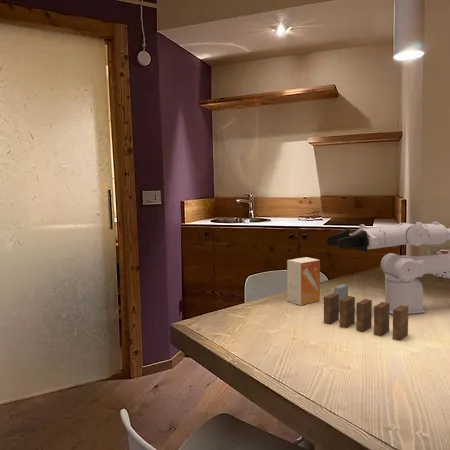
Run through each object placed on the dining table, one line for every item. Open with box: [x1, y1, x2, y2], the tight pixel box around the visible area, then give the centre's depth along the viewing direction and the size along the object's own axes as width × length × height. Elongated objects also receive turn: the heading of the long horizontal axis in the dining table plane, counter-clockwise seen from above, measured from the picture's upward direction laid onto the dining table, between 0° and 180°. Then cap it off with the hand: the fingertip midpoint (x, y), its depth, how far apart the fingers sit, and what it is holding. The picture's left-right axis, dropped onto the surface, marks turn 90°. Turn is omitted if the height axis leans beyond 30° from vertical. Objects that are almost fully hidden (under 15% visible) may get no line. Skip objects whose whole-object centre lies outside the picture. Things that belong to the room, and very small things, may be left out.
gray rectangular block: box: [333, 283, 349, 314], centre depth 123 cm, size 2×5×7 cm, turn 138°
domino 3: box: [355, 298, 373, 333], centre depth 107 cm, size 2×5×7 cm, turn 137°
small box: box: [286, 256, 321, 306], centre depth 132 cm, size 8×6×13 cm
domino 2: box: [339, 295, 356, 329], centre depth 110 cm, size 2×5×7 cm, turn 138°
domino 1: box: [323, 292, 340, 325], centre depth 113 cm, size 2×5×7 cm, turn 138°
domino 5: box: [392, 305, 409, 342], centre depth 101 cm, size 2×5×7 cm, turn 138°
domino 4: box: [373, 301, 390, 337], centre depth 104 cm, size 2×5×7 cm, turn 138°
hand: (332, 242), depth 116 cm, fingers open, 7 cm apart
